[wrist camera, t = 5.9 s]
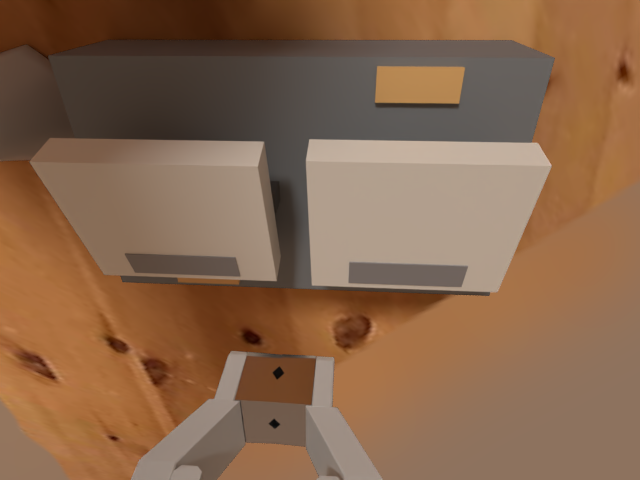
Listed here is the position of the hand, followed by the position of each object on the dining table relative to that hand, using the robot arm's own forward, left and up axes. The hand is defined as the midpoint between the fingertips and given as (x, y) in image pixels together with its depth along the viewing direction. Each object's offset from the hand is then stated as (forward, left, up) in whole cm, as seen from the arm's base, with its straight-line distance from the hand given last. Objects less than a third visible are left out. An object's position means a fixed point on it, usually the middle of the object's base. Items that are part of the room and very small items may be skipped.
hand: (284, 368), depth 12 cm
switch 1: (+1, -7, -10) cm, 13 cm away
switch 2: (+1, +5, -11) cm, 12 cm away
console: (+1, -1, -19) cm, 19 cm away
